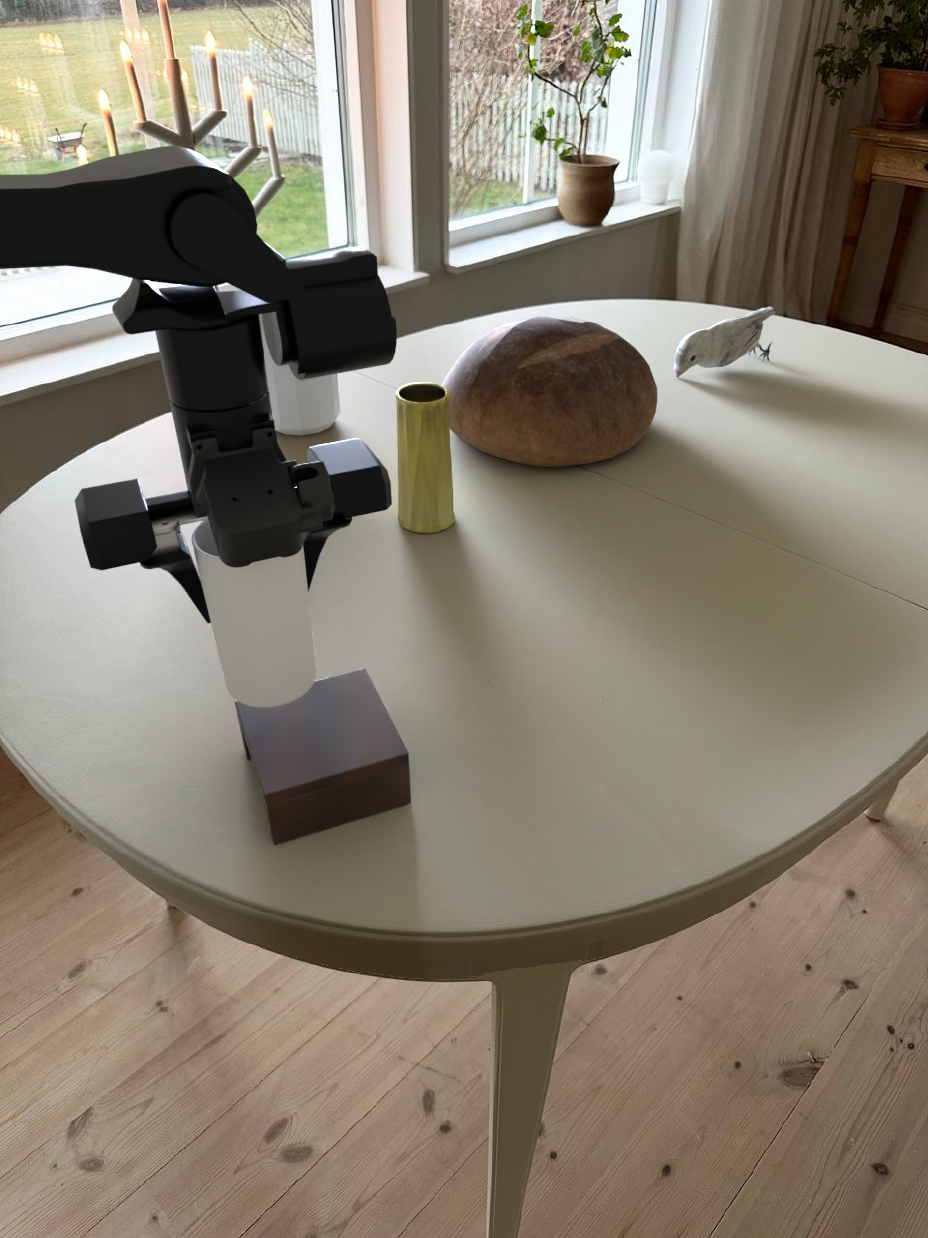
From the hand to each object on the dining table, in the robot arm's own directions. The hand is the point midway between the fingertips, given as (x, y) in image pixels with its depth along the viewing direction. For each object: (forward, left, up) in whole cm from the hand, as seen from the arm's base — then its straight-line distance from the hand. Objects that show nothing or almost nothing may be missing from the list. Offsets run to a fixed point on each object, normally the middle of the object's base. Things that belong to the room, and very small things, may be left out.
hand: (256, 608), depth 63 cm
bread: (+44, +44, -13) cm, 64 cm away
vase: (+22, +28, -13) cm, 38 cm away
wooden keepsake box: (+2, -4, -13) cm, 14 cm away
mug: (0, 0, -5) cm, 5 cm away
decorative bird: (+76, +52, -13) cm, 93 cm away
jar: (+16, +57, -13) cm, 60 cm away
